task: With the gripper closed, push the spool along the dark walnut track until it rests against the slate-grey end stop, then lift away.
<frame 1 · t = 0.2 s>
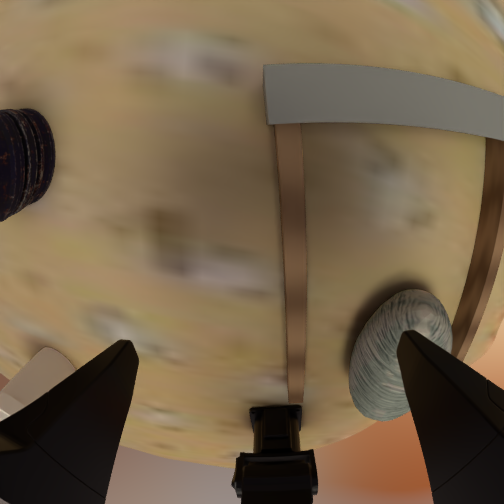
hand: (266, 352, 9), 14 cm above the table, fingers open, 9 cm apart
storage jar: (23, 156, 20), on the table
guide rails: (398, 275, 24), on the table
spool: (385, 331, 27), on the table
end stop: (407, 107, 17), on the table
foam cup: (58, 362, 32), on the table
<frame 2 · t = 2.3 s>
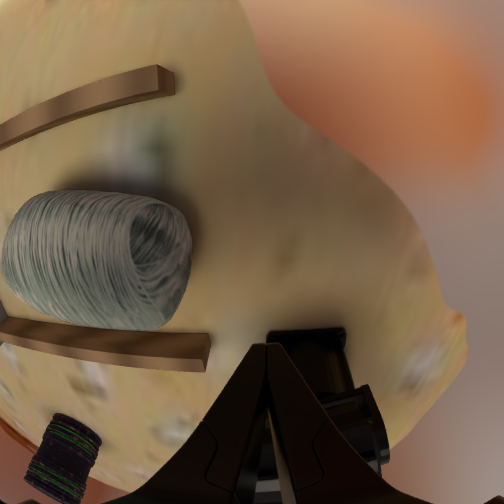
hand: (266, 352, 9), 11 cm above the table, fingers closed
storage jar: (77, 429, 35), on the table
guide rails: (49, 241, 20), on the table
spool: (115, 233, 20), on the table
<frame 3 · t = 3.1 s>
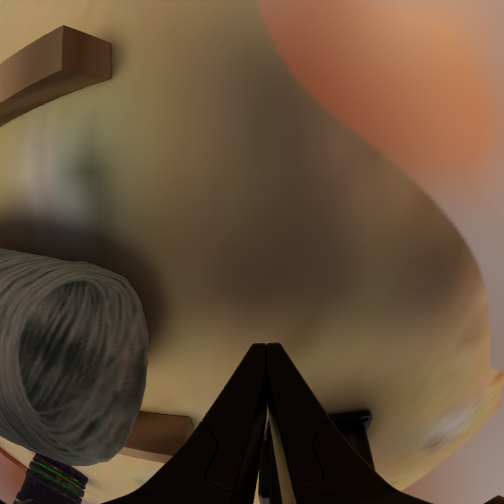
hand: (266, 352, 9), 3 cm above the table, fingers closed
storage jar: (62, 465, 28), on the table
spool: (52, 293, 12), on the table
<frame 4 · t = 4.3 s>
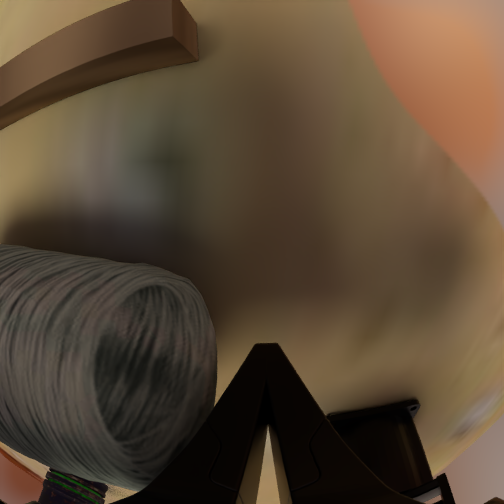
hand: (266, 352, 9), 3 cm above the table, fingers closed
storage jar: (80, 474, 27), on the table
guide rails: (12, 297, 12), on the table
spool: (88, 298, 12), on the table, touching gripper
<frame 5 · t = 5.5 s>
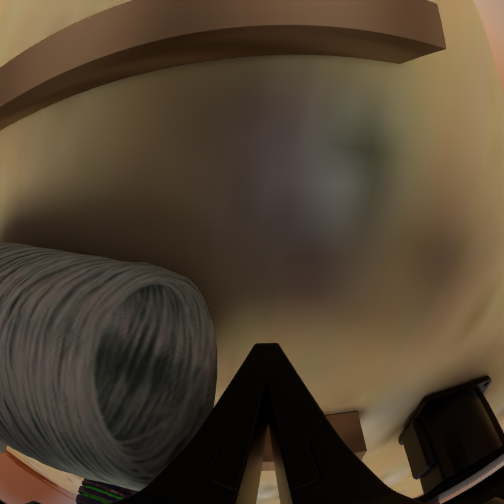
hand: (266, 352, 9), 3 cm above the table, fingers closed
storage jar: (115, 485, 27), on the table
guide rails: (97, 301, 12), on the table
spool: (88, 296, 12), on the table, touching gripper
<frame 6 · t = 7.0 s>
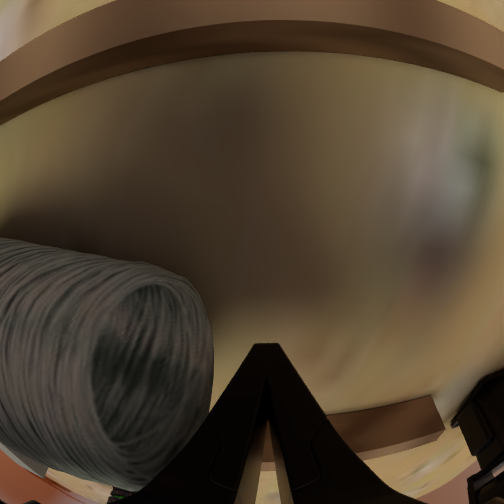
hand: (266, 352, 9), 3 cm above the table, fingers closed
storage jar: (146, 493, 27), on the table
guide rails: (209, 300, 11), on the table
spool: (84, 294, 12), on the table, touching gripper
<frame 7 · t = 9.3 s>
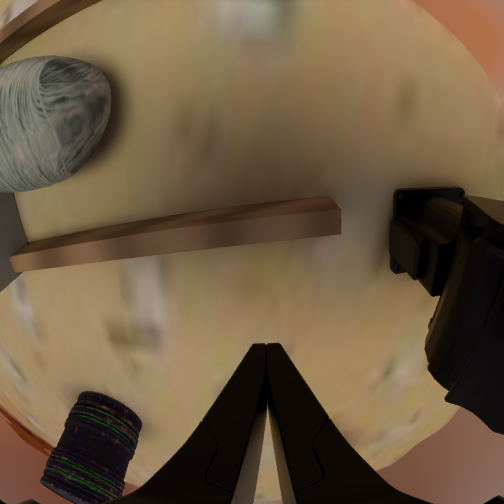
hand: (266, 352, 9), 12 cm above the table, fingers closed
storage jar: (109, 412, 31), on the table
guide rails: (118, 97, 16), on the table
spool: (55, 123, 16), on the table
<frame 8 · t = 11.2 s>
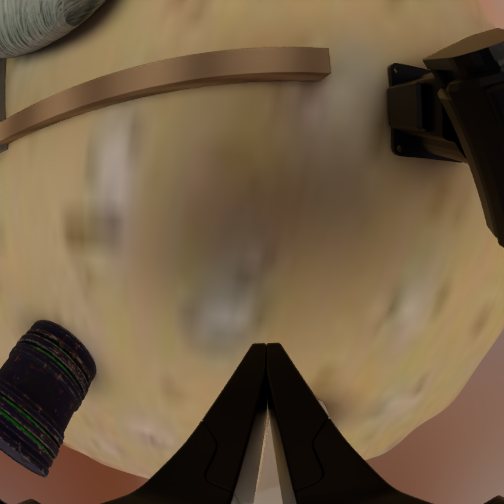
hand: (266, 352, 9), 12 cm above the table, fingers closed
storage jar: (62, 351, 27), on the table
spool: (60, 10, 12), on the table
foam cup: (298, 410, 29), on the table
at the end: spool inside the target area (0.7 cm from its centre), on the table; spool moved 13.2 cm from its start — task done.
